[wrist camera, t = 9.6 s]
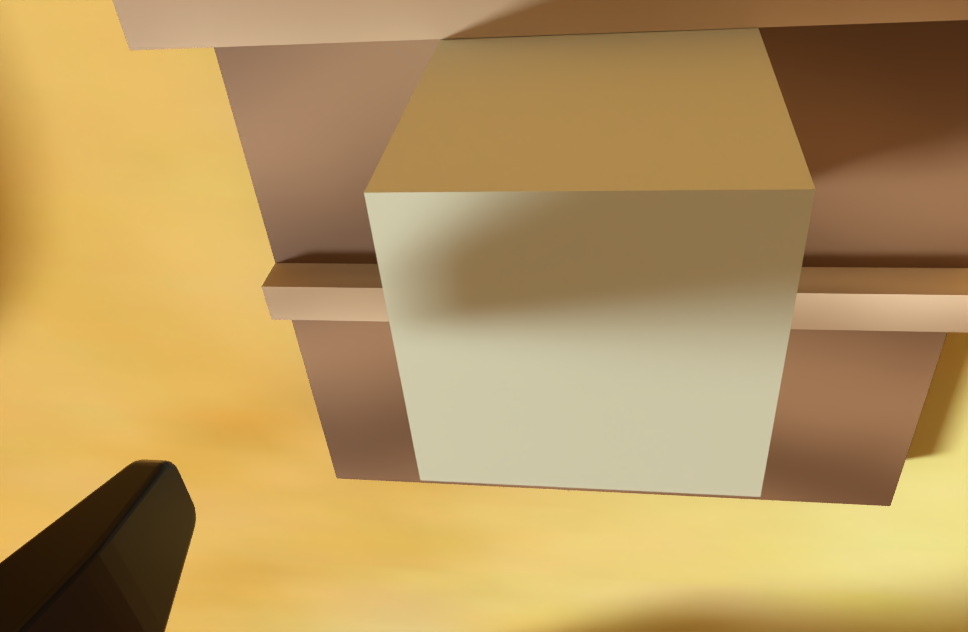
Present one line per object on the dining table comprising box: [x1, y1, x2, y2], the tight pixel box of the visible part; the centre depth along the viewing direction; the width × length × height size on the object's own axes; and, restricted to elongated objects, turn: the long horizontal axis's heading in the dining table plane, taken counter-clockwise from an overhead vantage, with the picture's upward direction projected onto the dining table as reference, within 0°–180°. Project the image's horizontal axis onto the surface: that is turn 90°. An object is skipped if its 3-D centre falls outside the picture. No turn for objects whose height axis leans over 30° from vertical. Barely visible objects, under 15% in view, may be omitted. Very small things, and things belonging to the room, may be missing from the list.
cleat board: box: [113, 0, 968, 506], centre depth 19 cm, size 16×16×4 cm
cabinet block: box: [364, 28, 816, 497], centre depth 14 cm, size 6×5×8 cm
